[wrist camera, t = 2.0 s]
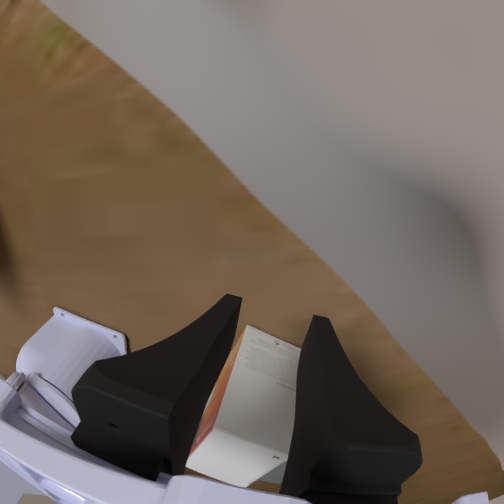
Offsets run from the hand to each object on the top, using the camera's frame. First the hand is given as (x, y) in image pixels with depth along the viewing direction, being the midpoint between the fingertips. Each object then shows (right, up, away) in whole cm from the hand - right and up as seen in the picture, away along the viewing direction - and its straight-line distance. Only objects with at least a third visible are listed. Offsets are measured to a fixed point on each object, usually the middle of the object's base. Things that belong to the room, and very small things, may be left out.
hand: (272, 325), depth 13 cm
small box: (0, -7, +15) cm, 17 cm away
